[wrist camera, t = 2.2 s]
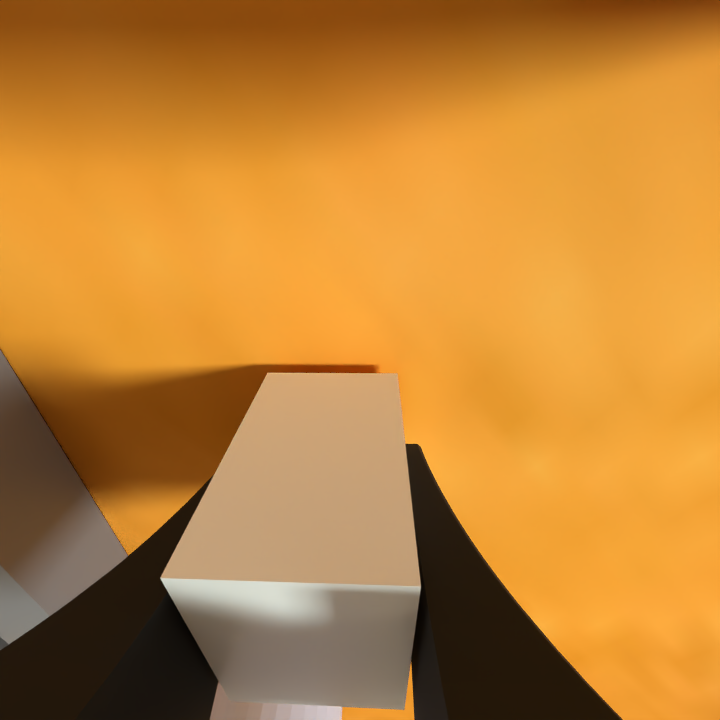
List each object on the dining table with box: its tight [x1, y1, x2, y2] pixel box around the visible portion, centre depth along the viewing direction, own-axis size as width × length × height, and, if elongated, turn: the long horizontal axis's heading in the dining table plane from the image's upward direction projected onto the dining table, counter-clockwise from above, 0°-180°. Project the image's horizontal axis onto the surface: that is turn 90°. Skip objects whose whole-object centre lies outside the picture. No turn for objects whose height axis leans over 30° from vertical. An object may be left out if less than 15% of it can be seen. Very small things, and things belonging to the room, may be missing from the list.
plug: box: [160, 373, 421, 710], centre depth 9 cm, size 5×4×7 cm
